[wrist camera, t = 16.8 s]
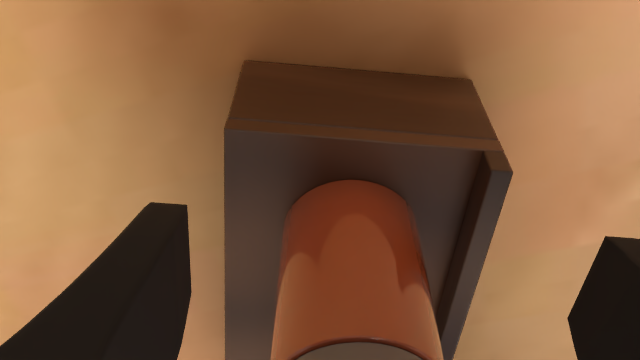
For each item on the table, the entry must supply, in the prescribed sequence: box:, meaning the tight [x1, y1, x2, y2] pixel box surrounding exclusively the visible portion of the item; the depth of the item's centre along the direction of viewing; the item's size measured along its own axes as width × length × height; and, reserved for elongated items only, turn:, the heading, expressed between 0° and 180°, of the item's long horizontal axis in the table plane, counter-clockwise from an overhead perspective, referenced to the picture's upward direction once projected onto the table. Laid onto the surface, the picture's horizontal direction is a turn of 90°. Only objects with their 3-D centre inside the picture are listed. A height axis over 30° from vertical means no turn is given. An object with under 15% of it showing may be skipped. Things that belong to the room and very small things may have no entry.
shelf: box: [224, 61, 513, 360], centre depth 22 cm, size 15×8×6 cm, turn 175°
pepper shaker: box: [270, 180, 444, 360], centre depth 15 cm, size 4×4×6 cm
